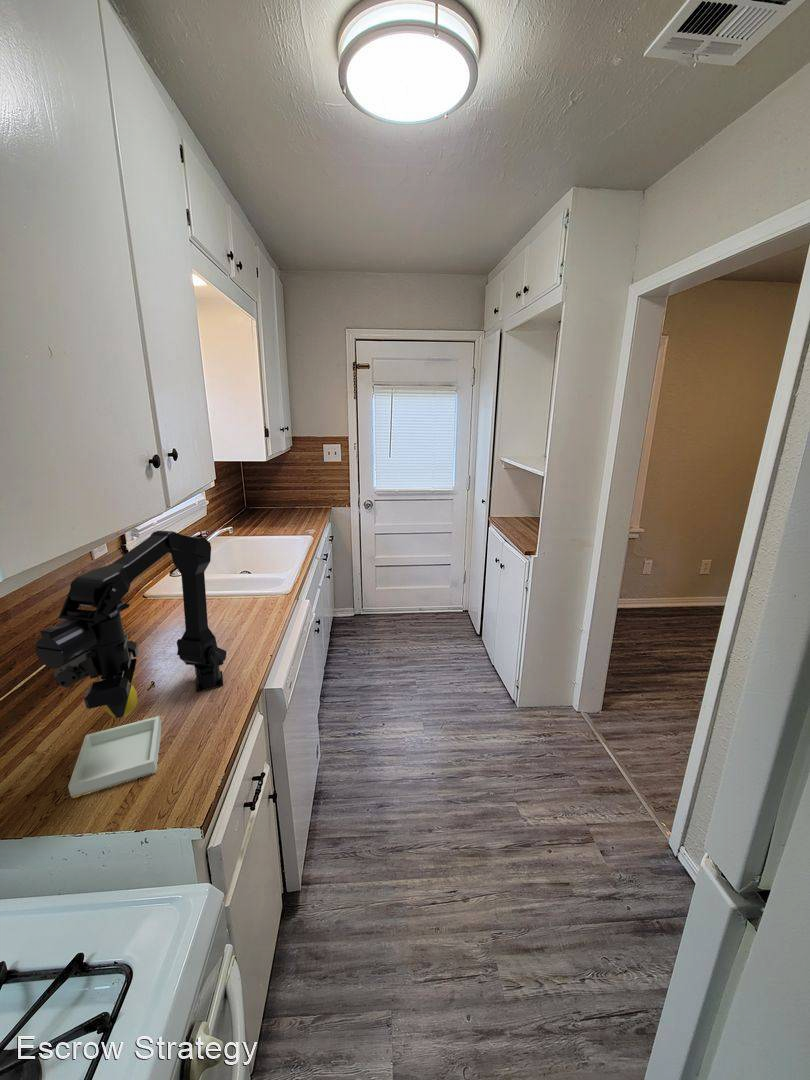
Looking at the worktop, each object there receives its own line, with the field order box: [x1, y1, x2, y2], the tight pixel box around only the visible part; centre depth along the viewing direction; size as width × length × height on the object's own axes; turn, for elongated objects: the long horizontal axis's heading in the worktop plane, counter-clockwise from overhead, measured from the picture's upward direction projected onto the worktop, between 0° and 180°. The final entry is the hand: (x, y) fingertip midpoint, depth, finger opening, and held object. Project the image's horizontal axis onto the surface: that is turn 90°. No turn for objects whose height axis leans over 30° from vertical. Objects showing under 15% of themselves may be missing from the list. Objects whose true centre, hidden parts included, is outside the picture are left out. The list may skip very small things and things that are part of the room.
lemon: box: [103, 683, 138, 718], centre depth 83 cm, size 6×6×8 cm
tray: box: [67, 715, 162, 798], centre depth 86 cm, size 14×14×3 cm
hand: (122, 708), depth 84 cm, fingers closed on lemon, 5 cm apart
